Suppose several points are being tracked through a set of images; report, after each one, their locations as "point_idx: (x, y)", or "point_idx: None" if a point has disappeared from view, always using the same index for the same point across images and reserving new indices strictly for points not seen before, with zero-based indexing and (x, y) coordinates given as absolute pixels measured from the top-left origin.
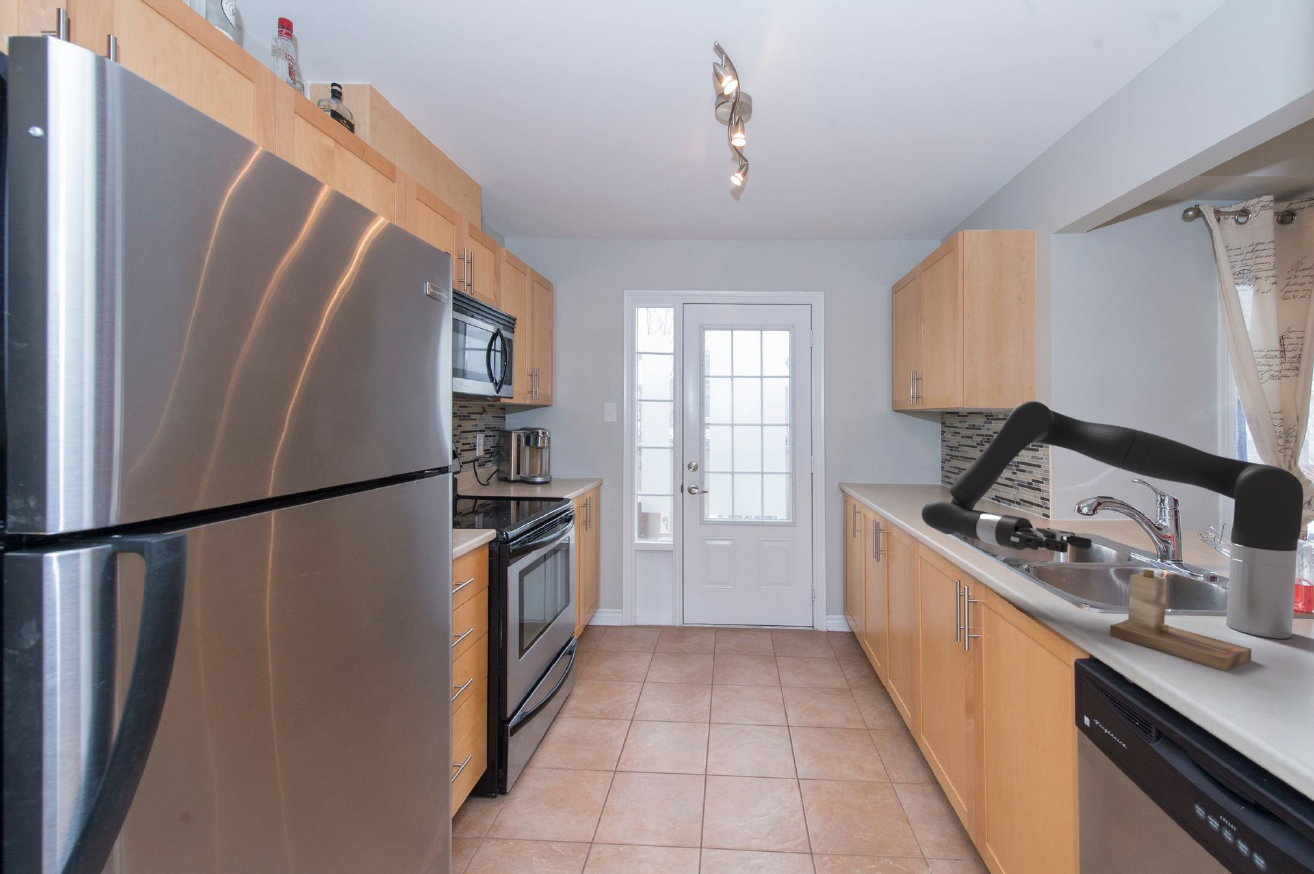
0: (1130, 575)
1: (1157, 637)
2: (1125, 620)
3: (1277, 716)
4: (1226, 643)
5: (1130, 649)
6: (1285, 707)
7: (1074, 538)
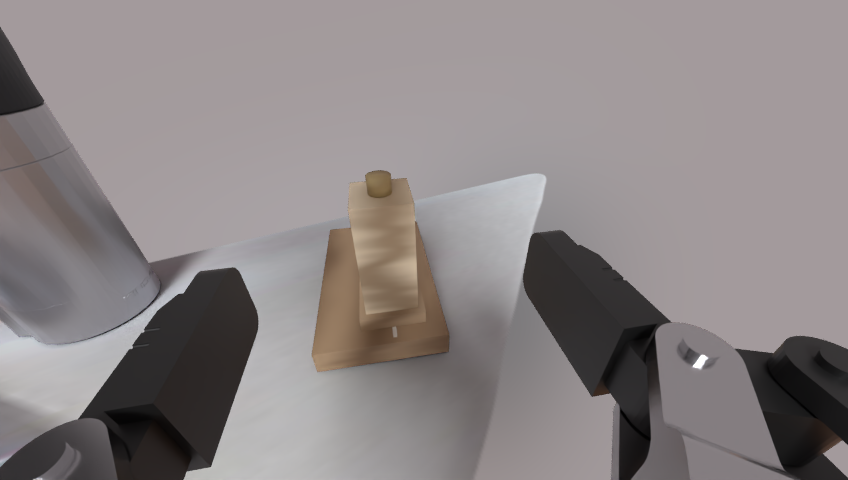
0: (413, 205)
1: (420, 275)
2: (420, 311)
3: (483, 192)
4: (337, 243)
5: (472, 301)
6: (454, 197)
7: (183, 383)
